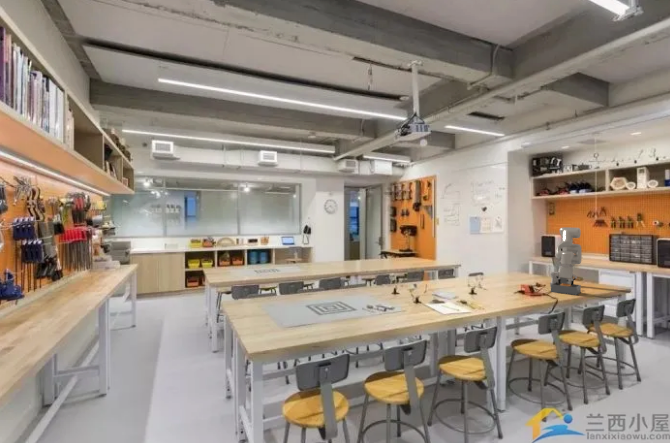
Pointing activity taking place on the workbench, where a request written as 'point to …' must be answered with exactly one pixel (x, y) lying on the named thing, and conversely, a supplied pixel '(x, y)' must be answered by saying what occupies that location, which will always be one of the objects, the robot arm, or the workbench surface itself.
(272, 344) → the workbench surface
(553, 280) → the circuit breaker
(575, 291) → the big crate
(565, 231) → the robot arm
